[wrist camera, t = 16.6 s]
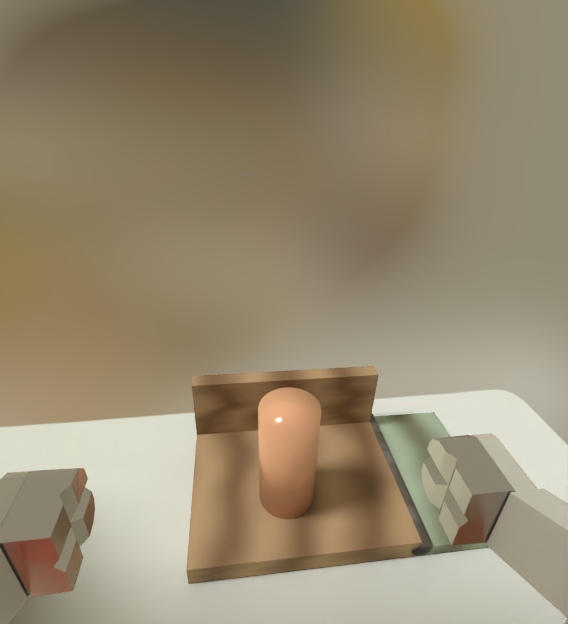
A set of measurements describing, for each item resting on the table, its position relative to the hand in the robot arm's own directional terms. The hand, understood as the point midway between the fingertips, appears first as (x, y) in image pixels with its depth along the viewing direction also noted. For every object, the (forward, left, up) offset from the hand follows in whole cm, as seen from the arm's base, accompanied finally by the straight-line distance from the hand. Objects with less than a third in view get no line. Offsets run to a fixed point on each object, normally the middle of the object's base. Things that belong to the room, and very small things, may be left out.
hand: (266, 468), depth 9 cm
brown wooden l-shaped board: (+9, +20, -28) cm, 36 cm away
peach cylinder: (+4, +18, -26) cm, 32 cm away
